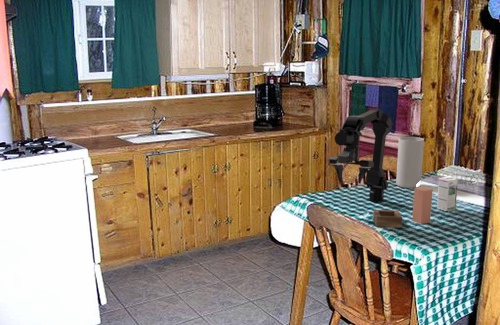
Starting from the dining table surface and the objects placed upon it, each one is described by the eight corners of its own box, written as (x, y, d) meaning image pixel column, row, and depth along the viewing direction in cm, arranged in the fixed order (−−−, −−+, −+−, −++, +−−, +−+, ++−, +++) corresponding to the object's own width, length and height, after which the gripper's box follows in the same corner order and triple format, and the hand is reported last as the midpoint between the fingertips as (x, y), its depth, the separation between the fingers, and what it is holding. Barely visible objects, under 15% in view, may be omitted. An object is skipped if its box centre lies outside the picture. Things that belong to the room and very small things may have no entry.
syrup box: (446, 212, 228) (449, 180, 225) (436, 208, 233) (438, 177, 230) (455, 210, 231) (458, 178, 228) (445, 206, 236) (447, 175, 233)
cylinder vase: (424, 184, 274) (427, 138, 269) (415, 189, 265) (418, 141, 259) (401, 181, 282) (404, 136, 277) (392, 186, 272) (394, 139, 267)
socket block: (373, 218, 219) (373, 209, 218) (397, 219, 218) (397, 210, 217) (376, 226, 210) (376, 217, 209) (401, 227, 209) (402, 217, 208)
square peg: (412, 220, 217) (414, 188, 214) (421, 218, 219) (423, 186, 216) (420, 224, 212) (423, 191, 209) (430, 222, 215) (432, 189, 212)
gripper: (323, 144, 221) (321, 180, 222) (364, 147, 209) (361, 185, 210) (336, 144, 230) (333, 179, 231) (375, 147, 218) (372, 184, 219)
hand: (349, 182), depth 223 cm, fingers open, 9 cm apart
